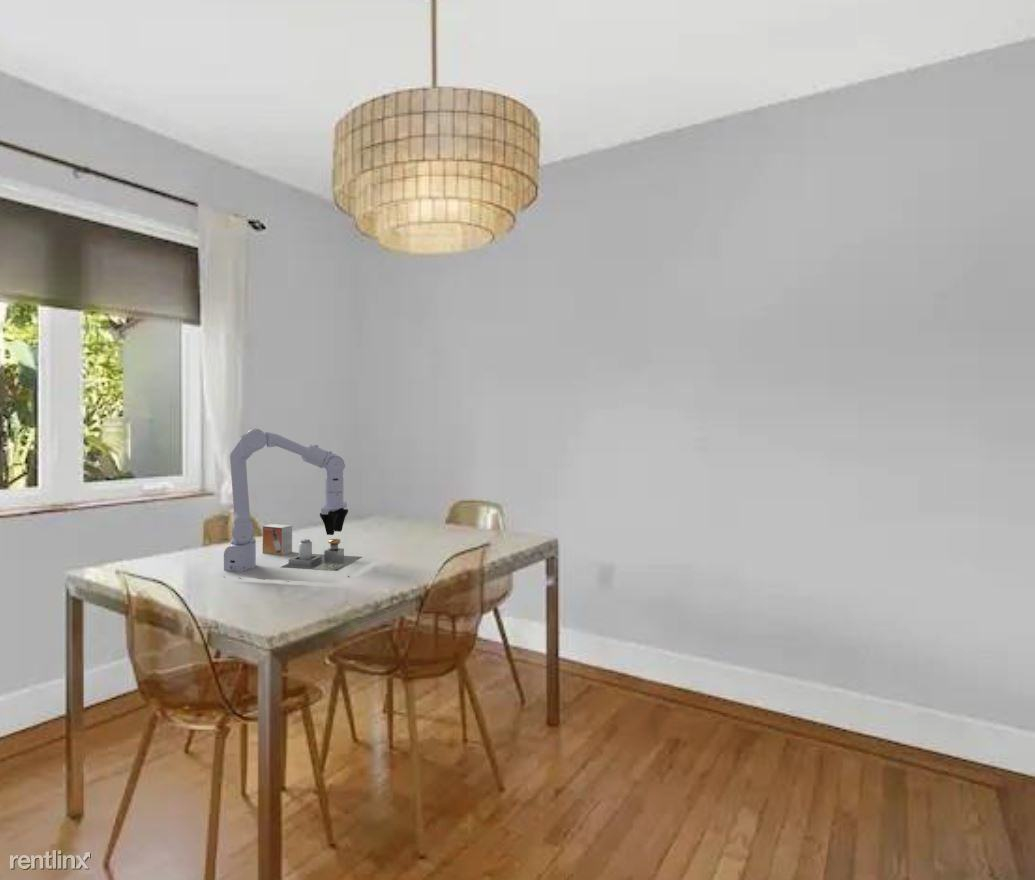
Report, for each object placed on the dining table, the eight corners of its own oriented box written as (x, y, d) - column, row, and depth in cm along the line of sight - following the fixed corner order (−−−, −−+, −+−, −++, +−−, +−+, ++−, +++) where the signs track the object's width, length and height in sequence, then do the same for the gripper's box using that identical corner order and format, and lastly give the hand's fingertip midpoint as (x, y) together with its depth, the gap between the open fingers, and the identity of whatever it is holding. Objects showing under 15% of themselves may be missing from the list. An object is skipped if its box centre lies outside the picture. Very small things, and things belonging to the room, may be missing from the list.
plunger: (337, 554, 209) (337, 541, 209) (326, 553, 209) (326, 540, 209) (342, 551, 213) (342, 539, 212) (331, 551, 213) (331, 538, 213)
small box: (262, 556, 218) (262, 525, 218) (273, 553, 224) (273, 523, 223) (281, 558, 216) (281, 527, 215) (292, 555, 221) (292, 524, 221)
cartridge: (308, 564, 204) (308, 541, 204) (296, 563, 205) (296, 541, 204) (314, 561, 208) (314, 539, 208) (302, 560, 209) (302, 538, 208)
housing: (337, 574, 197) (337, 560, 196) (280, 571, 200) (280, 557, 200) (362, 560, 215) (362, 547, 215) (309, 557, 218) (309, 544, 218)
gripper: (336, 494, 202) (336, 537, 203) (355, 489, 217) (355, 529, 217) (315, 494, 203) (315, 536, 204) (335, 488, 218) (335, 528, 218)
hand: (334, 533), depth 211 cm, fingers open, 5 cm apart
